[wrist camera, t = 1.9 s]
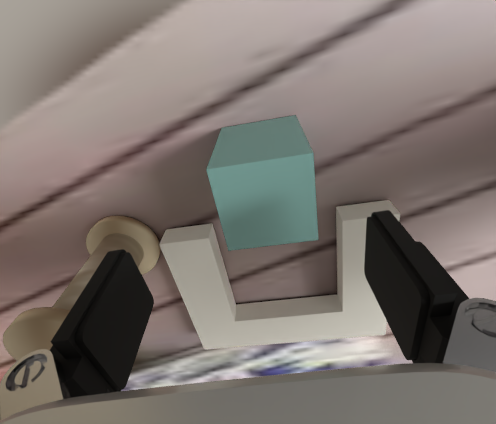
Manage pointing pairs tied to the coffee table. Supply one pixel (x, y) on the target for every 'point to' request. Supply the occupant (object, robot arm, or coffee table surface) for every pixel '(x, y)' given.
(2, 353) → the coffee table surface
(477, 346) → the robot arm
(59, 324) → the bobbin
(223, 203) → the block
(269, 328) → the notched board
